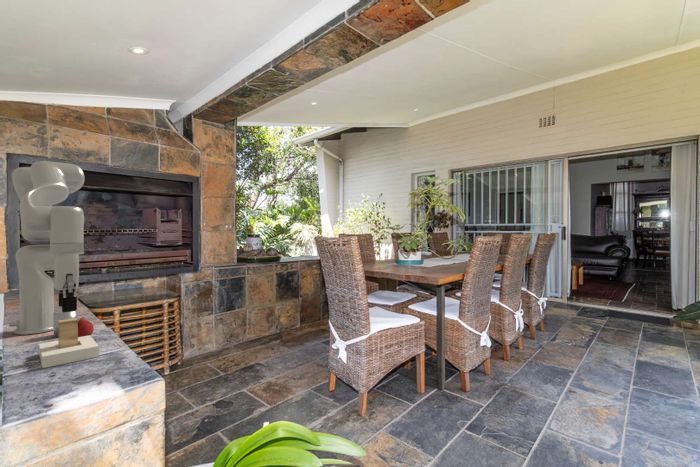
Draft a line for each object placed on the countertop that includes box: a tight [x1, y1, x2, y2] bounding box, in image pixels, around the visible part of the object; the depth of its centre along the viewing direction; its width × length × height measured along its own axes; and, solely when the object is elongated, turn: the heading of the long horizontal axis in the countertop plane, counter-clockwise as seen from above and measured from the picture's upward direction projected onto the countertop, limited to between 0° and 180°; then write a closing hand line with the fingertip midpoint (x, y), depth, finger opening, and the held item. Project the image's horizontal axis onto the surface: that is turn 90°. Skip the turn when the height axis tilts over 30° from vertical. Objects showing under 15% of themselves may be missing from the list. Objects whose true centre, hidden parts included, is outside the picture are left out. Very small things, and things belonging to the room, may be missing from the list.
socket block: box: [38, 335, 100, 369], centre depth 100 cm, size 16×12×3 cm
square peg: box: [58, 318, 79, 349], centre depth 100 cm, size 4×4×10 cm
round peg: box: [53, 309, 79, 338], centre depth 123 cm, size 7×7×8 cm
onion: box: [78, 316, 95, 337], centre depth 114 cm, size 6×6×8 cm
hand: (67, 308), depth 101 cm, fingers open, 9 cm apart
